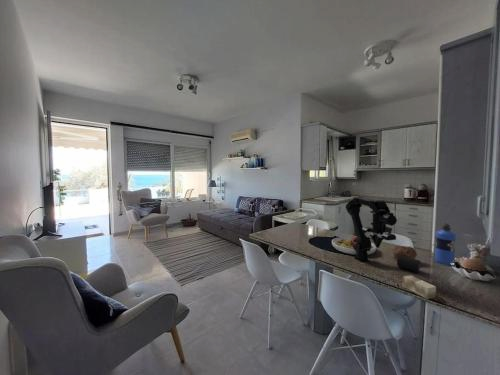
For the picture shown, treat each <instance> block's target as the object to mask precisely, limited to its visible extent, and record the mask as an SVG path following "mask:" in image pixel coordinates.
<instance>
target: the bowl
mask: <svg viewBox="0 0 500 375" xmlns="http://www.w3.org/2000/svg"><path fill="white" fill-rule="evenodd" d="M356 238H357V235H354V236H353V237H343V236H342V237H336V238H333V239H332V240H331V245H332V247H334V249H336V250H337V251H338V252H341V253H344V254H347V255H353V256H356V250H354V248H353V246H354V245H355V244H356ZM371 245H372V246H371V249H370V251H367V254H368V256H369V255H372V254H374V253H375V252H376V251H377V247H376V246H375V244H374V242H373V241H371Z"/></svg>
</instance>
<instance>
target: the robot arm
mask: <svg viewBox="0 0 500 375" xmlns="http://www.w3.org/2000/svg"><path fill="white" fill-rule="evenodd" d="M362 205H363V206H365V207H368V208H370V209H371V211H369V213H371V214H372V222H370V225H372V226H371V227H370V226H366V227H364V226H363V223H362V221H361V217H360V216H361V215H360V212H361V207H362ZM345 209H346V212H347V213H348V215H349V216H351V219H352V223H353V227H354V230H355V234H356V236H357V238H356V244H355V245H354V246H353V248H354V250H356V255H355V256H354V257H353V258H354V259H355V260H357V261H359V262H369V261H370V259H368V256H369V255H368V254H367V251H370V249H371V246H372V245H371V242H372V243H374V244H375V246H376V249H379V248H380V246H381V243H382V242H383V240H385V241H396V240H397V236H396V235H395V234H394V233H392V231H393V228H392V227H393V226H394V225H396V224H397V221H398V219H397V217H396V216H395V215H394V213H393V212H391V210H390V208H389V206H388V204H387V203H386V201H385V200H383V199H382V200H372V199H371V198H370V199H369V198H365V197H362V196H357V197H356V196H355V197H353V199H352V200H349V201H348V202H347V203H346V205H345ZM387 225H388V226H387ZM389 226H391V227H389ZM367 233H370V234H369V235H368V236H367V235H366V234H367ZM371 240H372V241H371Z"/></svg>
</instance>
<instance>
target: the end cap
mask: <svg viewBox="0 0 500 375" xmlns="http://www.w3.org/2000/svg"><path fill="white" fill-rule="evenodd" d="M421 264H422V262H421V260H419V259H416V258H415V259H414V260H411V259H408V258H407V257H398V260H396V265H397V268H399V269H403V270H405V271H410V272H413V273H417V274H419V273H420V272H421V270H420V269H421Z"/></svg>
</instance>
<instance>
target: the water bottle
mask: <svg viewBox="0 0 500 375" xmlns="http://www.w3.org/2000/svg"><path fill="white" fill-rule="evenodd" d="M440 228H441V229H440V230H436V231H435V241H436V244H435V248H434V249H435V250H434V251H435V252H434V253H435V254H434V261H435V262H436V263H437V264H440V265H446V266H451V265H450V263H451V262H452V261H453V260H454V259H455V257H456V249H455V244H456V240H457V234H456V233H455V232H453V231H451V225H450V224H449V223H446V222H445V223H443V224H442V225H441V227H440Z"/></svg>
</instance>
